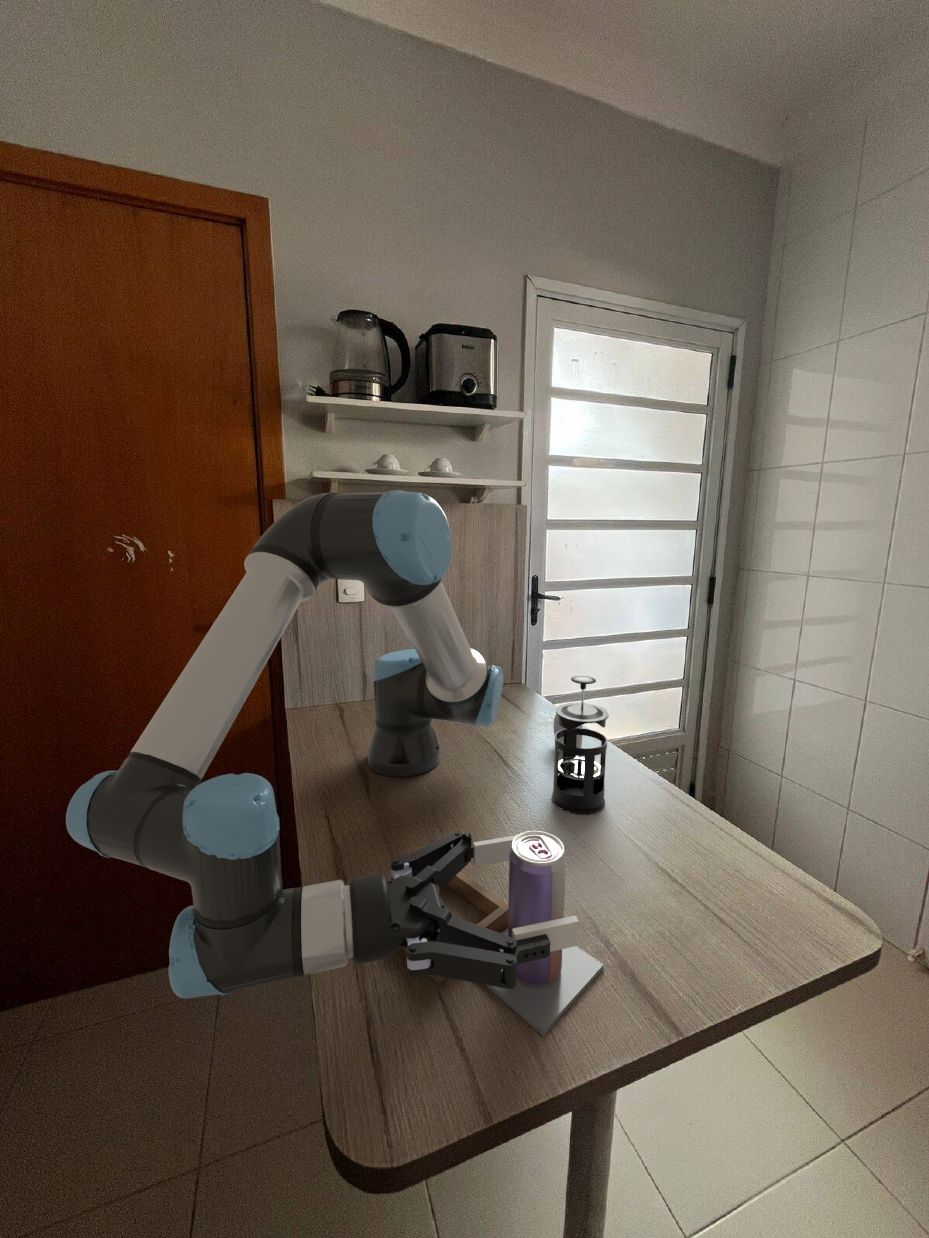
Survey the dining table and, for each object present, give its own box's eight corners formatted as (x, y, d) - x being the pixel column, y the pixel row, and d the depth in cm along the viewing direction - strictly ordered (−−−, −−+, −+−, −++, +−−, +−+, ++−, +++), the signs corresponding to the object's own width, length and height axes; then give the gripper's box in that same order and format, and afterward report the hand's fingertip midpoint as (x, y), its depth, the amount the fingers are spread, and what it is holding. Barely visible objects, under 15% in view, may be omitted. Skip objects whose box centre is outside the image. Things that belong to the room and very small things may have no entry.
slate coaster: (465, 967, 58) (465, 962, 58) (526, 915, 66) (526, 911, 66) (543, 1036, 50) (543, 1031, 50) (603, 969, 58) (603, 964, 58)
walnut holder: (375, 922, 65) (374, 905, 64) (446, 877, 73) (446, 861, 72) (438, 983, 56) (438, 964, 56) (511, 924, 64) (511, 906, 64)
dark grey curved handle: (550, 744, 116) (551, 702, 114) (564, 743, 116) (566, 701, 115) (569, 764, 106) (570, 718, 104) (584, 762, 107) (586, 717, 105)
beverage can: (523, 998, 54) (526, 870, 51) (498, 954, 59) (500, 836, 56) (572, 979, 56) (577, 855, 53) (543, 938, 61) (547, 824, 58)
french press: (615, 814, 88) (623, 686, 84) (562, 819, 87) (567, 688, 82) (589, 780, 100) (595, 666, 95) (542, 784, 98) (546, 668, 94)
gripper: (346, 872, 64) (509, 845, 69) (358, 1082, 40) (604, 1016, 45) (343, 817, 62) (510, 793, 67) (354, 1000, 38) (609, 942, 44)
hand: (548, 883), depth 56 cm, fingers open, 13 cm apart
